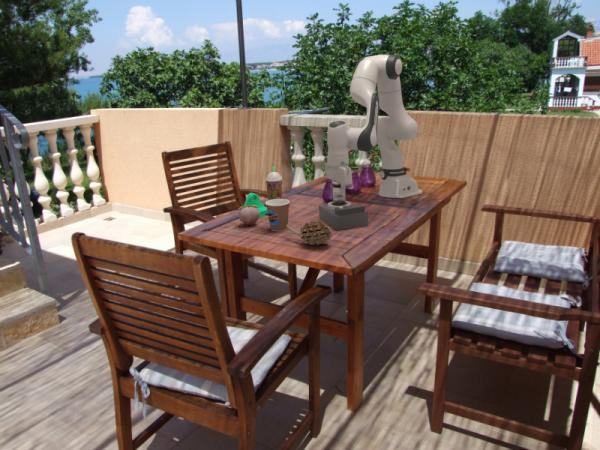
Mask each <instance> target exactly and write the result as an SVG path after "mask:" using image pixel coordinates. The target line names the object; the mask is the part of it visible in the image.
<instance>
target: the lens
mask: <svg viewBox="0 0 600 450" xmlns="http://www.w3.org/2000/svg"><path fill="white" fill-rule="evenodd" d="M332 182H333V183H332ZM331 185H332V201H333V204H336V205H342V204H345V201H346V192H345V193H344V194H341V193H340V189H341V186H340V183H338V182H336V181H334V180H333V181H332V180H331Z"/></svg>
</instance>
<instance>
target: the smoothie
mask: <svg viewBox="0 0 600 450" xmlns="http://www.w3.org/2000/svg"><path fill="white" fill-rule="evenodd" d="M265 183H266V185H265V186H266V192H267V198H268V199H267V201H269V200H273V199H283V177H282V175H281V174H280V173H279V172H278V171H275V167H274V166H273V165H272V171H271V172H269V173H268V174H267V175H266V178H265Z"/></svg>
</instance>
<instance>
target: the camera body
mask: <svg viewBox="0 0 600 450" xmlns="http://www.w3.org/2000/svg"><path fill="white" fill-rule="evenodd" d="M318 218H319V220H320V221H323V222H324V223H326V224H327V225H328V226H330V227H331V228H333V229H334V230H336V231H343V230H349V229H356V228H360V227H367V226H368V223H369V222H368V218H369V215H368V211H367V210H366V207H365V205H363V204H361V203H360V204H358V203H357V204H353V203H352V202H351V201H347V200H345V204H342V205H336V204H333V200H332V201H330V202H328V203H326V204H320V205H318Z"/></svg>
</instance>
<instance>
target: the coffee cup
mask: <svg viewBox="0 0 600 450" xmlns="http://www.w3.org/2000/svg"><path fill="white" fill-rule="evenodd" d="M290 202H291V201H290V200H289V199H285V198H282V199H273V200H269V201H268V200H266V201H265V207H267V212H268V213H267V216H268V221H269V222H268V223H269V226H270V229H271V231H272V232H277V231H278V232H284V230H285V231H287V230H288V229H287V227H286V226H287V225H288V226H289V213H290V211H289V210H290Z"/></svg>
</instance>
